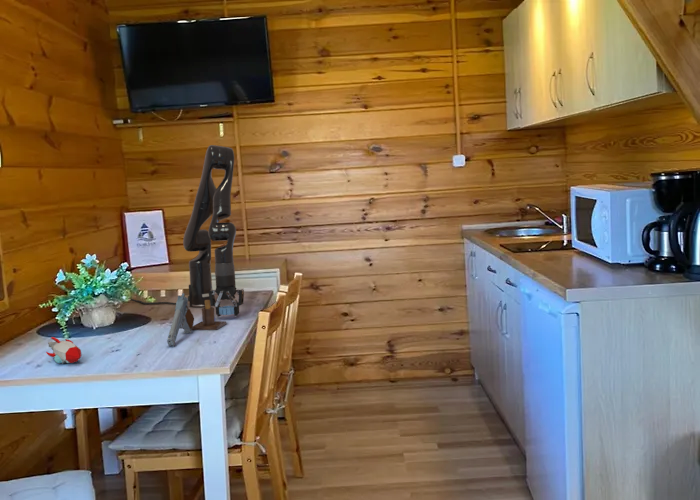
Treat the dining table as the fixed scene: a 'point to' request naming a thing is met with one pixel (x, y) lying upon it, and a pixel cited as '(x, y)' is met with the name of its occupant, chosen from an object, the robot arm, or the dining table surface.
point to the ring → (226, 310)
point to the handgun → (180, 319)
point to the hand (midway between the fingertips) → (227, 315)
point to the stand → (208, 319)
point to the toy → (64, 351)
